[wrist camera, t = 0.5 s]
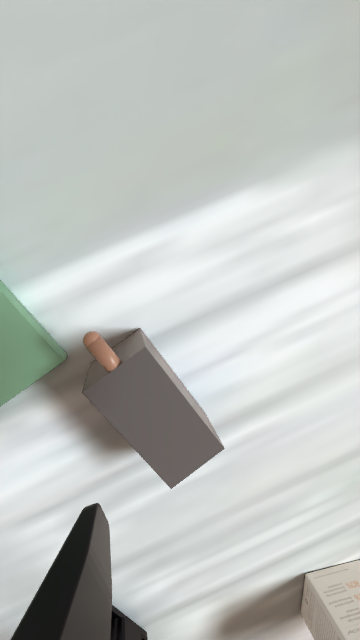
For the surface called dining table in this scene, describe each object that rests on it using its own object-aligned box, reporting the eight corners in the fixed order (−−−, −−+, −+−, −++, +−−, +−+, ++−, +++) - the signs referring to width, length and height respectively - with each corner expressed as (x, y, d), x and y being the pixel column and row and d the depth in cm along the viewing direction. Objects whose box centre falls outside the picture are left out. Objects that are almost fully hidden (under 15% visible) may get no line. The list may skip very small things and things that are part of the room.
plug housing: (161, 445, 23) (171, 488, 18) (67, 337, 19) (51, 359, 15) (205, 412, 23) (224, 448, 18) (119, 300, 19) (118, 312, 15)
